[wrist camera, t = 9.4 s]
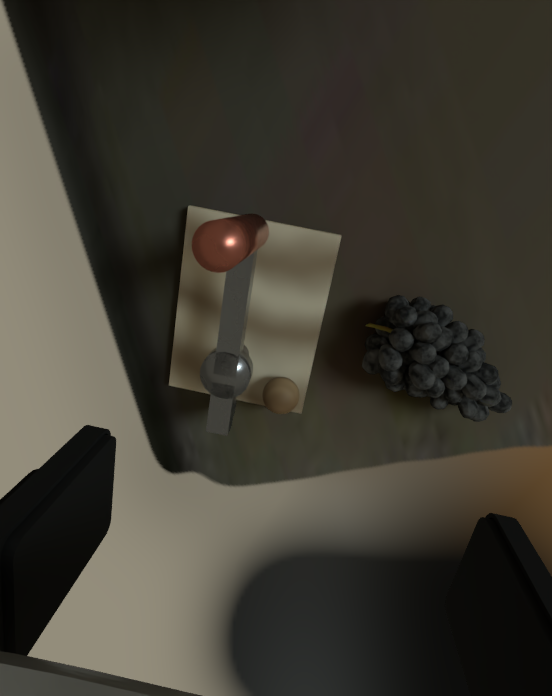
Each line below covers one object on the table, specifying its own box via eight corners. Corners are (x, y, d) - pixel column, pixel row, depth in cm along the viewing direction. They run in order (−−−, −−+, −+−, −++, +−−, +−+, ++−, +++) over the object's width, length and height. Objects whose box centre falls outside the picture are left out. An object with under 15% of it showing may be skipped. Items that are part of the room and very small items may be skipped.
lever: (230, 209, 38) (182, 213, 25) (280, 218, 37) (257, 227, 25) (205, 406, 44) (157, 490, 31) (248, 415, 44) (217, 503, 31)
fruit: (508, 349, 44) (377, 282, 42) (571, 359, 35) (412, 277, 33) (469, 426, 44) (338, 364, 42) (523, 454, 36) (363, 378, 34)
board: (191, 205, 40) (176, 206, 36) (340, 234, 40) (343, 238, 35) (172, 380, 46) (156, 399, 42) (301, 408, 46) (299, 430, 41)
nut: (268, 367, 43) (263, 381, 40) (303, 375, 43) (302, 390, 40) (262, 399, 45) (257, 416, 41) (296, 407, 44) (294, 424, 41)
